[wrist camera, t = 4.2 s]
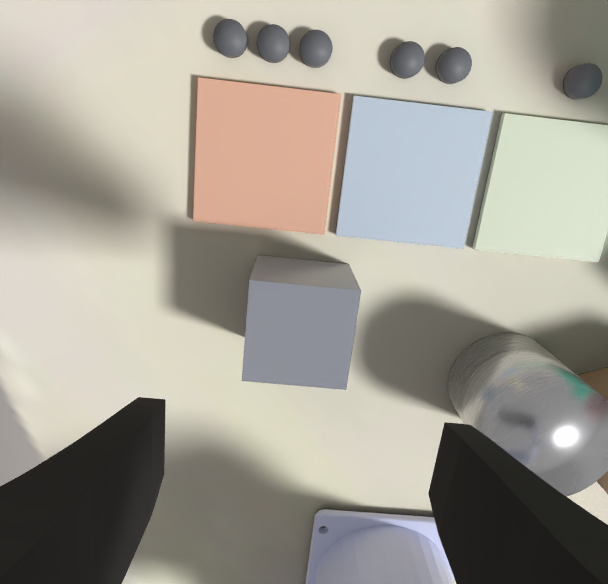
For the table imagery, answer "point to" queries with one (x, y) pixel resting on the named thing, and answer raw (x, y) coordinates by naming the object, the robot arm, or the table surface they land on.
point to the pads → (397, 160)
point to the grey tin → (533, 409)
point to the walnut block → (603, 383)
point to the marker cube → (300, 322)
